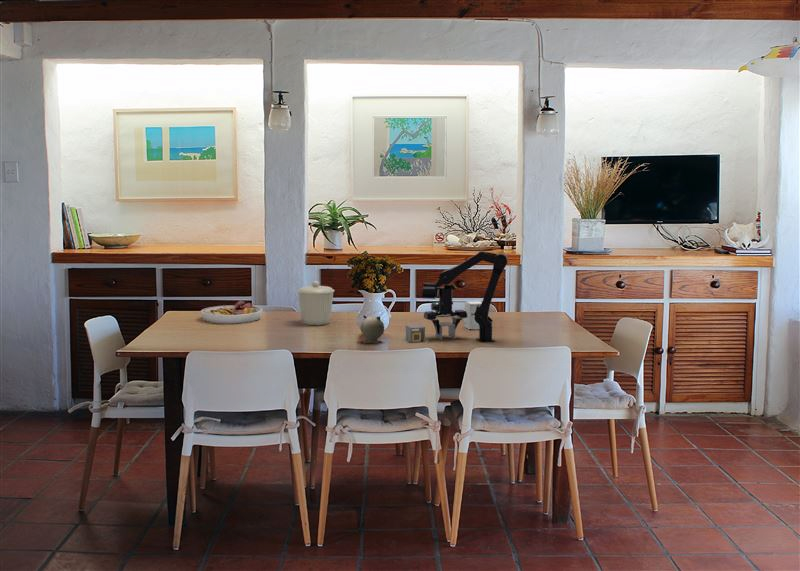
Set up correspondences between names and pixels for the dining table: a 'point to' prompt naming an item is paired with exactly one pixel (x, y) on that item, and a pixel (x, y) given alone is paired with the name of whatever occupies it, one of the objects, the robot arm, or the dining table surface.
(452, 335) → the cover
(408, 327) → the cover
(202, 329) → the dining table surface
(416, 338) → the letter cube
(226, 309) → the bowl
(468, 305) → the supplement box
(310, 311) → the canister
